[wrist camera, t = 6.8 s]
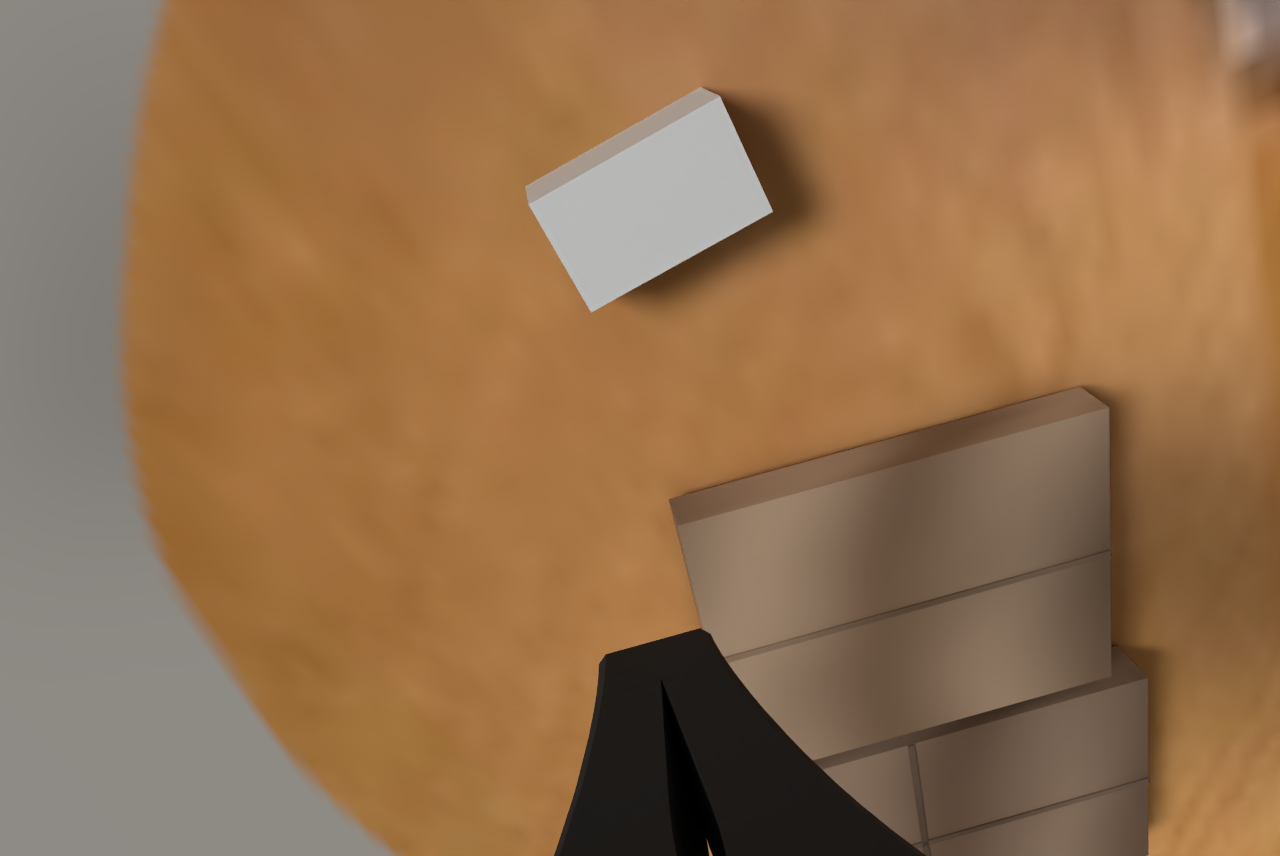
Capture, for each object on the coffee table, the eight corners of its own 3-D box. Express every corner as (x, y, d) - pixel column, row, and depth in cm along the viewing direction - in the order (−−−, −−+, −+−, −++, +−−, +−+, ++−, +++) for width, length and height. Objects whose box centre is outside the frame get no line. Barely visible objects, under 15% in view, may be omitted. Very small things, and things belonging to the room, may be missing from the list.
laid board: (1117, 645, 27) (1149, 678, 25) (1120, 818, 30) (1149, 856, 28) (767, 743, 26) (781, 782, 25) (806, 907, 29) (820, 950, 28)
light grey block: (698, 85, 19) (719, 96, 18) (747, 191, 20) (773, 211, 19) (524, 184, 20) (528, 204, 18) (581, 283, 21) (591, 312, 19)
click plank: (1080, 386, 23) (1110, 408, 22) (1086, 647, 26) (1112, 677, 25) (668, 499, 23) (678, 527, 21) (731, 746, 26) (742, 781, 25)
